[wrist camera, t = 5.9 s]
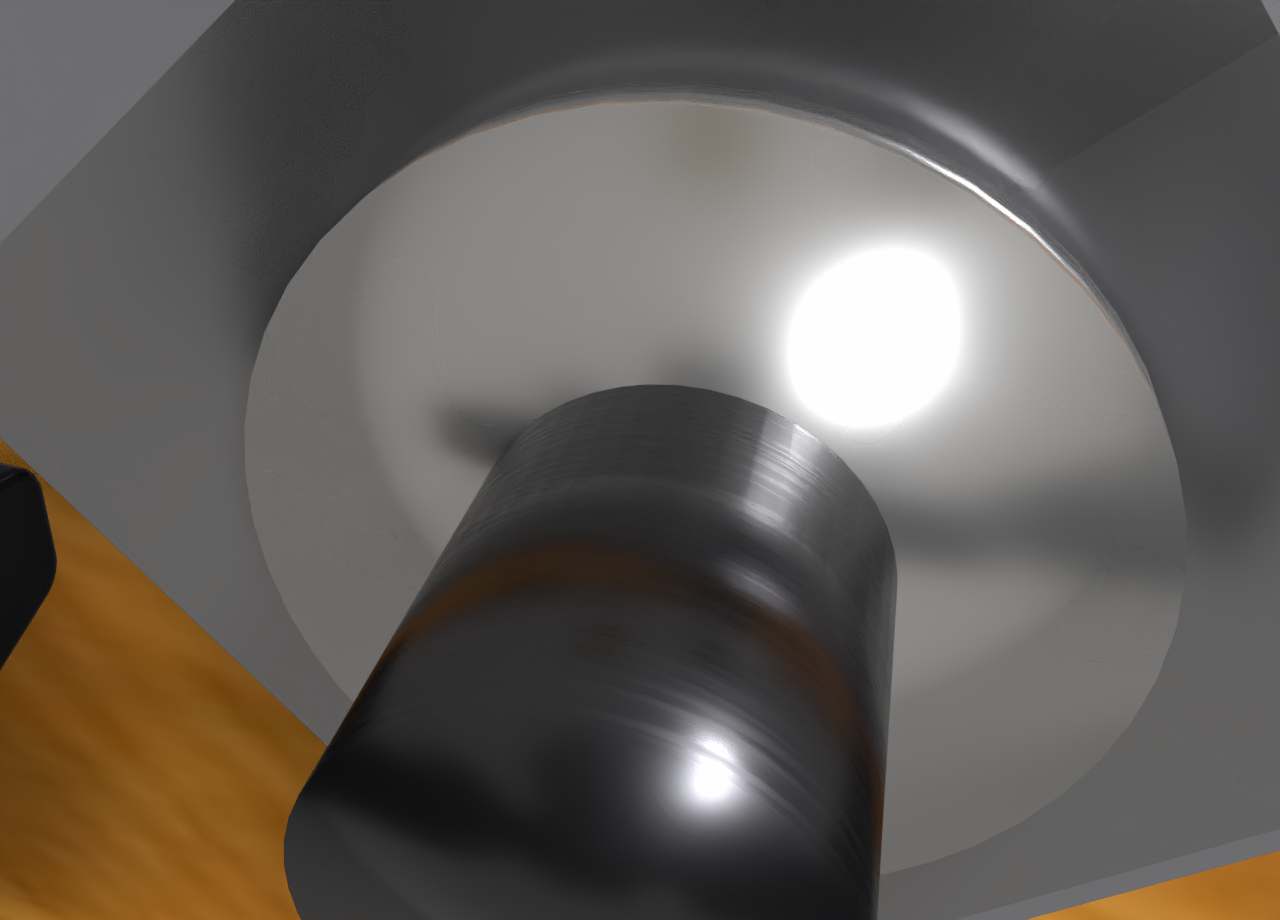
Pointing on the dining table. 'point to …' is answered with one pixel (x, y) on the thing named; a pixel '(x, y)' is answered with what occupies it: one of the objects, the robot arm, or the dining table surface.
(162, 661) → the dining table surface
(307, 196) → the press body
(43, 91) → the slate mat
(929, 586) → the plunger
